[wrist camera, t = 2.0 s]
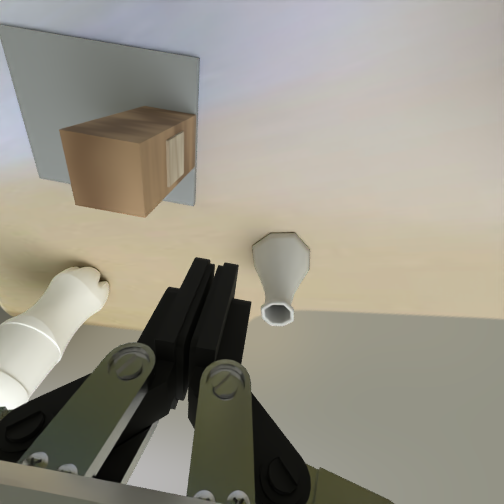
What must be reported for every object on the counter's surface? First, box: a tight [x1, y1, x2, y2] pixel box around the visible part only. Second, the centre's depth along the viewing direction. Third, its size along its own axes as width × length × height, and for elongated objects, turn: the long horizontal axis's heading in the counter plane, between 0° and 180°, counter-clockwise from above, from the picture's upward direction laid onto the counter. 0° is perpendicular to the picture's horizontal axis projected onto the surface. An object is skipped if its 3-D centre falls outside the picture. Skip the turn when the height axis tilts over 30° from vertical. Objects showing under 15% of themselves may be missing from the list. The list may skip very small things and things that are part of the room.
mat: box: [0, 25, 200, 206], centre depth 29 cm, size 18×14×1 cm
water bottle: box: [0, 267, 109, 410], centre depth 31 cm, size 7×7×25 cm
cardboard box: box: [59, 106, 196, 218], centre depth 24 cm, size 5×5×12 cm
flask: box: [252, 233, 310, 326], centre depth 31 cm, size 7×7×10 cm
